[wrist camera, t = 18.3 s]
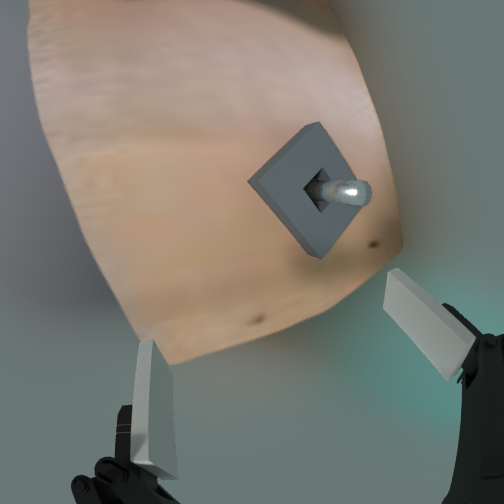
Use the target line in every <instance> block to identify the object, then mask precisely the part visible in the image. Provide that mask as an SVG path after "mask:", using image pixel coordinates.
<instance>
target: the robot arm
mask: <svg viewBox="0 0 504 504" xmlns="http://www.w3.org/2000/svg"><path fill="white" fill-rule="evenodd" d="M383 308H384V310H385V311H386V312H387V313H388V314H389V315H390V316H391V317H392V318H393V319H394V320H395V322H396V323H397V324H398V325H399V326H400V327H401V328H402V329H403V330H404V332H405V333H406V334H407V335H408V336H409V337H410V338H411V339H412V340H413V342H414V343H415V344H416V345H417V346H418V347H419V348H420V350H421V351H422V352H423V353H424V354H425V355H426V356H427V358H428V359H429V360H430V361H431V362H432V364H433V365H434V366H435V367H436V368H437V370H438V371H439V372H440V373H441V374H442V376H443V377H444V378H445V379H446V381H448V380H450V379H451V378H452V377H453V376H455V375H456V374H457V373H458V371H459V369H460V368H461V367H462V368H463V372H462V373H461V375H460V377H459V378H458V380H457V383H459V382H460V380H461V379H462V382H461V384H462V409H461V424H460V434H459V442H458V450H457V456H456V462H455V468H454V473H453V477H452V482H451V486H450V490H449V492H448V494H447V496H446V497H445V498H444V500H443V502H442V504H504V334H502V335H499V336H494V335H493V334H489V333H488V334H484V335H483V334H482V333H481V332H480V331H478V329H477V328H476V327H475V326H473V325H472V324H471V323H470V322H469V321H468V320H467V319H466V318H464V316H463V315H461V314H459V312H458V311H457V310H456V309H455V308H454V307H453V306H450V305H448V304H446V303H444V304H442V305H441V304H440V303H439V302H438V301H437V300H436V299H434V298H433V297H432V296H431V295H430V294H429V293H427V292H426V291H425V290H424V289H423V288H422V287H421V286H419V285H418V284H417V283H416V282H415V281H413V280H412V279H411V278H410V277H409V276H407V275H406V274H405V273H404V272H403V271H401V270H400V269H399V268H395V269H393V270H390V271H388V275H387V283H386V291H385V298H384V305H383ZM172 373H173V372H172V370H171V369H170V367H169V365H168V364H167V362H166V360H165V359H164V357H163V355H162V354H161V352H160V350H159V349H158V347H157V345H156V343H155V342H154V340H153V339H151V340H146V341H141V342H140V345H139V351H138V359H137V367H136V375H135V385H134V396H133V405H124V406H122V407H121V409H120V411H119V413H118V418H117V430H116V433H117V434H116V442H115V458H112V457H103V458H101V459H100V460H99V461H98V462H97V463H96V465H95V468H94V469H95V476H96V477H94V478H89V477H87V476H84V475H78V476H76V477H75V478H74V479H73V480H72V483H71V489H72V493H73V495H74V498H75V501H76V503H77V504H180V503H179V502H178V501H177V500H176V499H174V498H173V497H172V496H171V495H170V494H169V493H168V492H167V491H166V490H165V489H163V488H162V487H161V486H160V485H159V484H158V483H157V477H158V478H160V479H162V480H175V479H179V477H178V468H177V458H176V446H175V430H174V411H173V381H172V380H173V375H172Z"/></svg>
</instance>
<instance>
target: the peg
mask: <svg viewBox="0 0 504 504" xmlns="http://www.w3.org/2000/svg"><path fill="white" fill-rule="evenodd" d="M303 190H304V191H305V192H306V194H307V195H308V196H309V198H310V199H311V200H312V201H321V202H332V203H342V204H351V205H360V206H365V205H367V204H368V203H369V202H370V199H371V194H372V192H371V187H370V185H369V184H368V182H366V181H361V180H310V181H309V182H308V184H307V185H306V186H305V187H304V188H303Z"/></svg>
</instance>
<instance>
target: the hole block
mask: <svg viewBox="0 0 504 504" xmlns="http://www.w3.org/2000/svg"><path fill="white" fill-rule="evenodd" d="M314 176H315V177H316V179H317V180H357V179H356V177H355V176H354V174H353V172H352V171H351V169H350V167H349V166H348V164H347V163H346V161H345V159H344V158H343V156H342V155H341V153H340V151H339V150H338V148H337V147H336V145H335V144H334V142H333V141H332V139H331V138H330V136H329V135H328V133H327V132H326V130H325V129H324V128H323V126H322V125H321V123H320V122H315V123H312V124H309V125H306V126H304V127H303V128H302V129H301V130H300V131H299V132H298V133H297V134H296V135H295V136H294V137H293V138H292V139H290V140H289V141H288V142H287V143H286V144H285V145H284V146H283V147H282V148H281V149H280V150H279V151H278V152H277V153H276V154H275V155H274V156H273V157H272V158H270V159H269V160H268V161H267V162H266V163H265V164H264V165H263V166H262V167H261V168H260V169H259V170H258V171H257V172H256V173H255V174H254V175H253V176H252V177H251V178H250V179H249V180H248V181H247V182H248V183H249V184H250V185H251V186H252V188H253V189H254V190H255V191H256V192H257V193H258V195H259V196H260V197H261V198H262V199H263V200H264V202H265V203H266V204H267V205H268V206H269V207H270V209H271V210H272V211H273V212H274V213H275V215H276V216H277V217H278V218H279V219H280V221H281V222H282V223H283V224H284V225H285V227H286V228H287V229H288V230H289V231H290V233H291V234H292V235H293V236H294V237H295V239H296V240H297V241H298V242H299V244H300V245H301V246H302V247H303V249H304V250H305V251H306V252H307V253H308V255H311V256H314V257H317V258H319V259H322V258H323V257H324V255H325V254H326V253H327V252H328V250H329V249H330V248H331V247H332V245H333V244H334V243H335V241H336V240H337V239H338V238H339V236H340V235H341V234H342V232H343V231H344V230H345V229H346V227H347V226H348V225H349V223H350V222H351V221H352V219H353V218H354V217H355V215H356V214H357V213H358V211H359V210H360V209H361V207H362V206H360V205H351V204H342V203H332V202H321V201H316V202H315V203H313V202H312V200H311V199H310V198H309V196H308V195H307V194H306V192H305V191H304V190H303V188H304V187H305V186H306V185H307V184H308V182H309V181H310V180H311V179H312V178H313V177H314Z"/></svg>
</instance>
